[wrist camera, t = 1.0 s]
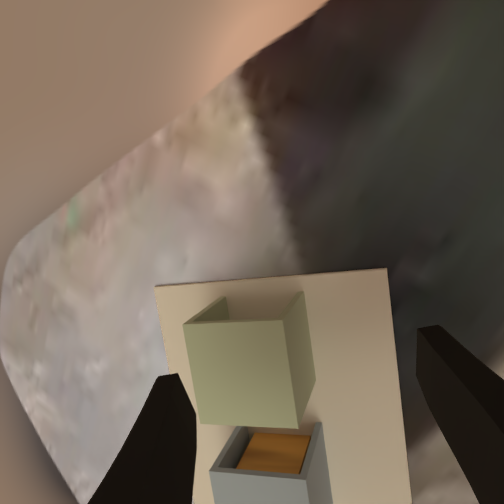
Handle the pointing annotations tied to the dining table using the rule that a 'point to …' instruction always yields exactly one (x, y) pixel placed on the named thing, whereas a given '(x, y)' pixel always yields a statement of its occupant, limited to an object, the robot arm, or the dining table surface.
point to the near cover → (251, 366)
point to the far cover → (270, 476)
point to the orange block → (275, 453)
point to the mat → (326, 370)
